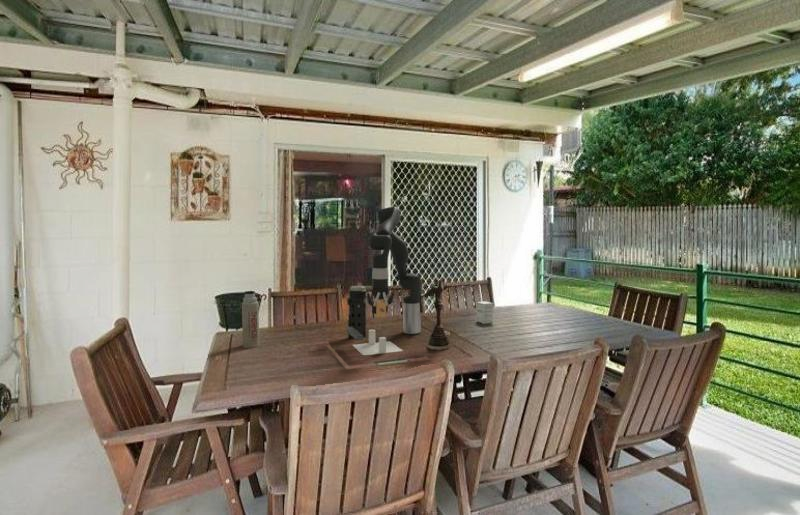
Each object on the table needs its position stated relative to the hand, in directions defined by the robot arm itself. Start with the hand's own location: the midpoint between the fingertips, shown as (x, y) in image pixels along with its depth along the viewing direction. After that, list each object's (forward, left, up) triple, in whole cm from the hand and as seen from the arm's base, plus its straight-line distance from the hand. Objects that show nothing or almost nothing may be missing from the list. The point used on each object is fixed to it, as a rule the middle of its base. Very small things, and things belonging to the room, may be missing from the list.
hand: (379, 313), depth 217 cm
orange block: (0, +1, -1) cm, 2 cm away
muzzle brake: (+1, -35, -20) cm, 41 cm away
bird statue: (-31, -5, -20) cm, 38 cm away
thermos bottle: (+56, -39, -20) cm, 71 cm away
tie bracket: (-1, -7, -20) cm, 21 cm away
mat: (-1, +10, -20) cm, 22 cm away
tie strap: (+10, -7, -11) cm, 17 cm away
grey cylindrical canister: (-84, -42, -20) cm, 96 cm away
